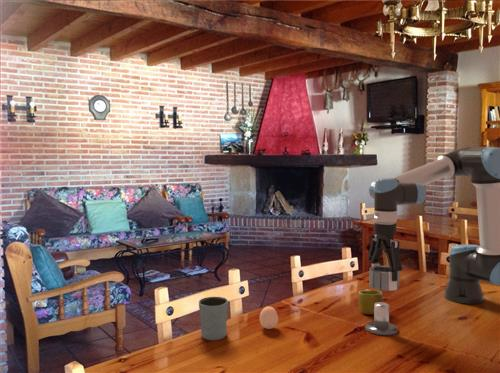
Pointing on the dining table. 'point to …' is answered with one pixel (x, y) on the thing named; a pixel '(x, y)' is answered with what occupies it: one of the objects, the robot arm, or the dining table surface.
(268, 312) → the egg
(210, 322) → the grey cup
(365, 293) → the mug
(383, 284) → the ring
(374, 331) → the piston post
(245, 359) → the dining table surface
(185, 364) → the dining table surface
